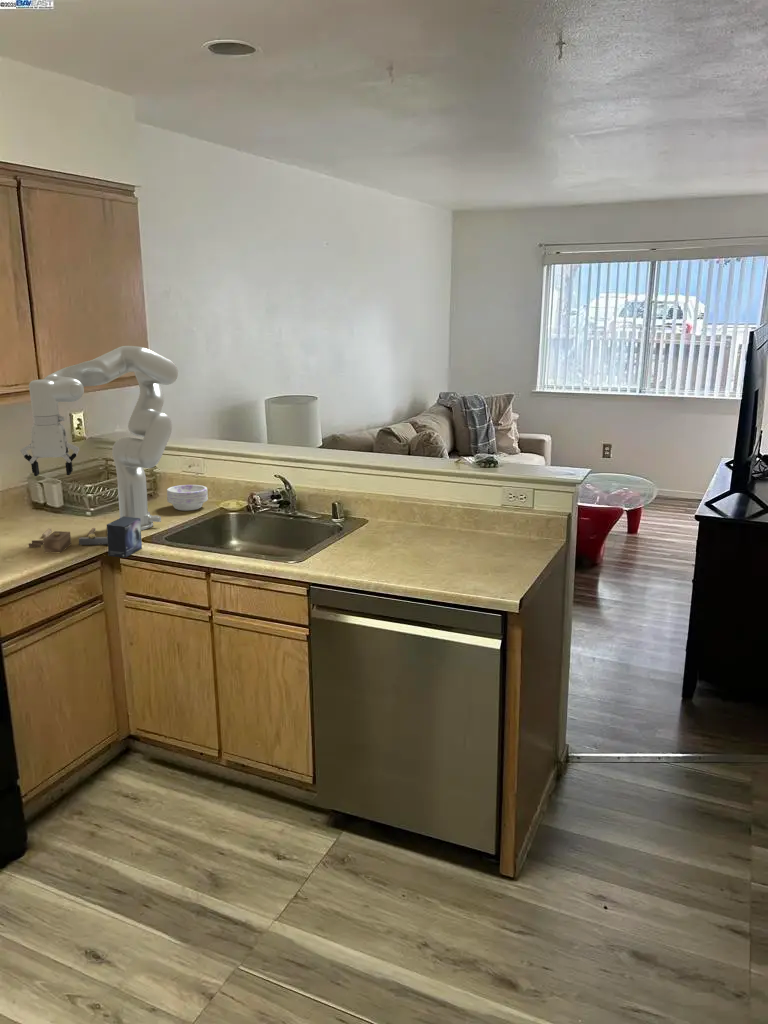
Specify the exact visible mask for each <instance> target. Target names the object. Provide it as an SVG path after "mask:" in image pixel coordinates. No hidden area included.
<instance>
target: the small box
mask: <svg viewBox="0 0 768 1024" xmlns="http://www.w3.org/2000/svg"><path fill="white" fill-rule="evenodd" d="M106 533H107V535H106V537H107V539H108V544H107V556H108V557H112V558H113V557H115V558H123V559H124V558H127V557H129V556H131V555H134V554H135V553H136V552H138V551H140V550H142V549H143V546H142V545H143V543H142V530H141V518H133V517H125V516H123V517H121V518H120V517H119V518H117V519H115V520H113V521H111V522H109V523H107V524H106Z"/></svg>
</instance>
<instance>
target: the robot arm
mask: <svg viewBox="0 0 768 1024" xmlns="http://www.w3.org/2000/svg"><path fill="white" fill-rule="evenodd" d="M129 373H134V376H135V379H136V381H137V383H138V386H139V396H138V398H137V401H136V402H135V406H134V408H133V411H132V412H131V415H130V417H129V420H128V423H127V428H128V431H129V432H130V433H131V434H132V435H134V436H136V437H141V438H136V437H130V436H129V437H128V436H127V437H126V436H125V437H121V438H119V439H117V440H116V441H115V442H114V443H113V446H112V458H113V461H114V467H115V470H116V471H115V472H116V479H117V480H116V481H117V493H118V497H117V498H118V509H119V512H118V513H119V518H121V517H123V516H125V517H133V518H141V531H143V530H148V529H150V528H152V527H153V526H154V523H156V522H157V523H158V522H159V523H161V522H162V516H160V515H158V514H157V515H155V514H154V515H152V514H151V511H148V510H149V507H148V490H147V489H148V488H147V477H146V472H145V469H153V468H154V467H156V466H157V464H158V463H159V462H160V460H161V458H162V456H163V454H164V453H165V449H166V447H167V445H168V442H169V440H170V437H171V434H172V429H173V424H172V420H171V417H170V416H169V415H168V414H167V413H165V412H162V408H163V406H164V403H165V396H164V395H165V394H164V392H163V389H162V388H163V387H162V386H163V385H165V386H169V385H171V384H173V383H175V382H176V381H177V379H178V376H179V370H178V367H177V365H176V364H175V363H174V362H173V361H172V360H171V359H169V358H167V357H165V356H163V355H160V354H159V353H158V352H155V351H153V350H151V349H149V348H146V347H143V346H138V345H137V346H136V345H135V346H134V345H123V346H122V345H121V346H119V347H116V348H115V349H112V350H110V351H108V352H106V353H103V354H102V355H100V356H97V357H96V358H94V359H91V360H87V361H86V360H85V361H83V362H80V363H77V364H74V365H70V366H66V367H63V368H61V369H58V370H56V371H55V372H53V373H50V374H48V375H47V376H45V377H44V378H43V379H33V380H31V381H30V382H29V383H28V384H29V385H28V388H29V397H30V405H31V413H32V422H33V424H32V425H31V430H30V444H28V445H26V446H24V447H23V448H20V450H19V451H20V453H21V455H22V456H23V457H24V459H25V460H27V461H28V462H29V464H30V466H31V471H32V473H33V476H34V477H37V476H39V475H40V469H39V467H40V466H39V462H38V461H37V459H39V458H63V459H64V460H65V461H66V462H65V473H66V475H67V476H70V475H71V474H72V472H74V471H73V470H74V468H73V461H74V459H75V458H76V457H78V453H79V452H80V447H79V446H77V445H74V444H72V443H70V442H68V437H67V432H66V428H65V426H64V424H63V423H61V422H65V419H66V418H65V416H62V415H61V414H60V412H59V411H60V410H59V403H72V402H77V401H78V400H80V399H82V397H83V396H84V392H85V387H95V386H96V387H97V386H101V385H106V384H109V383H110V382H112V381H114V380H116V379H118V378H119V377H122V376H124V375H125V374H129ZM142 438H143V439H142ZM29 450H31V454H32V455H31V454H30V453H29V452H28V451H29ZM70 450H72V454H71V455H70V454H69V451H70Z"/></svg>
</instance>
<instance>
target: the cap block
mask: <svg viewBox="0 0 768 1024" xmlns="http://www.w3.org/2000/svg"><path fill="white" fill-rule="evenodd" d="M42 540H43V543H44V544H43V552H60V553H59V554H61V553H62V552H63V551H65V550H66V549H67V548H68V547H70V546H71V545H72V538H71V531H62V530H61V531H56V530H55V531H53V532H51V533H50V534H49V535H48V536H47V537H46V538H43V539H42ZM70 544H71V545H70ZM69 545H70V546H69ZM65 548H66V549H65ZM64 549H65V550H64Z"/></svg>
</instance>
